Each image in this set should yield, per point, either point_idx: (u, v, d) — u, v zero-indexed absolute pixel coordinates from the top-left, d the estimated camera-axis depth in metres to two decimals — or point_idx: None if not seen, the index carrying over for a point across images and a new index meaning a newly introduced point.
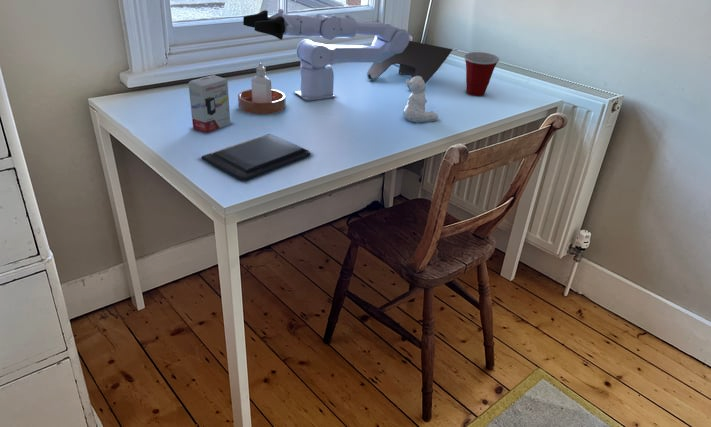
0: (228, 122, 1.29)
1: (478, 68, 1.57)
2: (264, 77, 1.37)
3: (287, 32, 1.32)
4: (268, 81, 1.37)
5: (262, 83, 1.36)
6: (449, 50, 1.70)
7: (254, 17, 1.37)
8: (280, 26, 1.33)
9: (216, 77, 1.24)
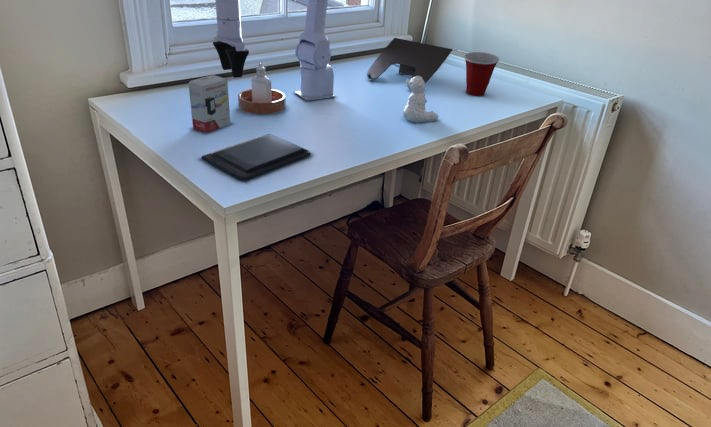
0: (228, 122, 1.29)
1: (478, 68, 1.57)
2: (264, 77, 1.37)
3: (243, 49, 1.24)
4: (268, 81, 1.37)
5: (262, 83, 1.36)
6: (449, 50, 1.70)
7: (222, 58, 1.33)
8: None
9: (216, 77, 1.24)
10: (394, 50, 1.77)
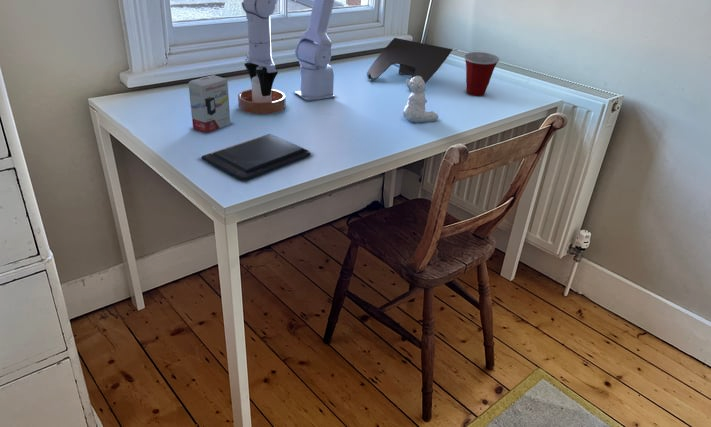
0: (228, 122, 1.29)
1: (478, 68, 1.57)
2: None
3: (273, 71, 1.31)
4: None
5: None
6: (449, 50, 1.70)
7: None
8: None
9: (216, 77, 1.24)
10: (394, 50, 1.77)
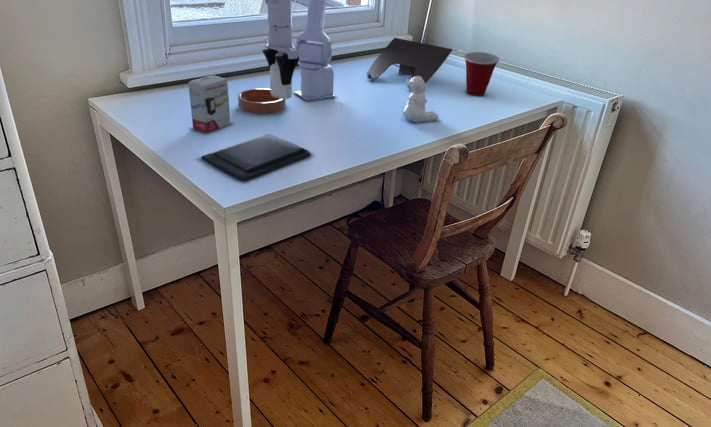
0: (228, 122, 1.29)
1: (478, 68, 1.57)
2: None
3: (295, 57, 1.21)
4: None
5: None
6: (449, 50, 1.70)
7: None
8: None
9: (216, 77, 1.24)
10: (394, 50, 1.77)
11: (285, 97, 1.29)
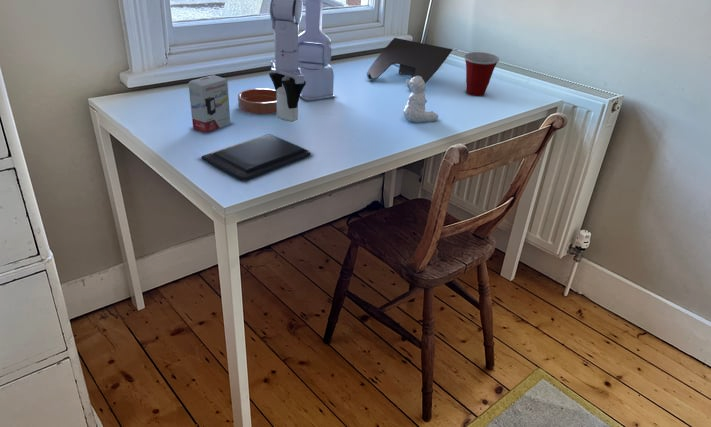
0: (228, 122, 1.29)
1: (478, 68, 1.57)
2: None
3: (302, 82, 1.21)
4: None
5: None
6: (449, 50, 1.70)
7: None
8: None
9: (216, 77, 1.24)
10: (394, 50, 1.77)
11: (291, 120, 1.30)
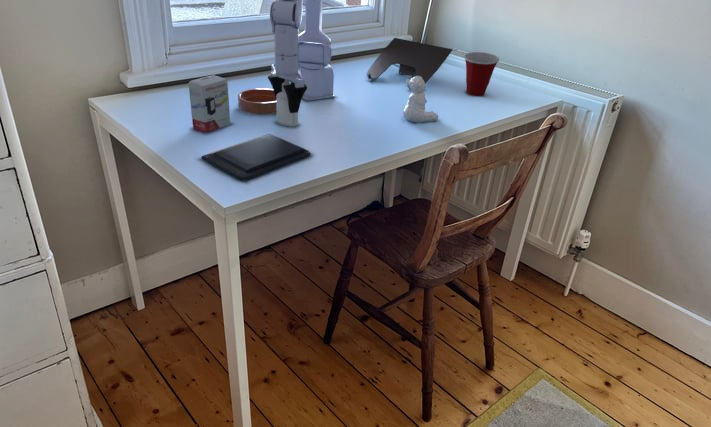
0: (228, 122, 1.29)
1: (478, 68, 1.57)
2: None
3: (302, 86, 1.22)
4: None
5: None
6: (449, 50, 1.70)
7: (277, 92, 1.31)
8: None
9: (216, 77, 1.24)
10: (394, 50, 1.77)
11: (291, 125, 1.30)
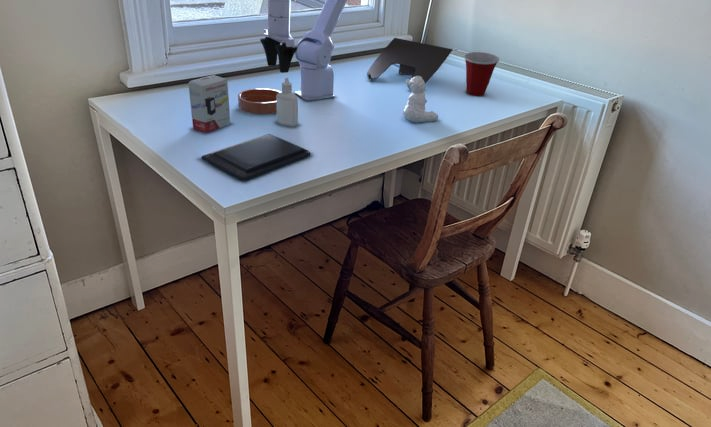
0: (228, 122, 1.29)
1: (478, 68, 1.57)
2: (290, 93, 1.28)
3: (292, 45, 1.30)
4: (294, 97, 1.27)
5: (288, 100, 1.27)
6: (449, 50, 1.70)
7: (268, 55, 1.40)
8: None
9: (216, 77, 1.24)
10: (394, 50, 1.77)
11: (291, 125, 1.30)
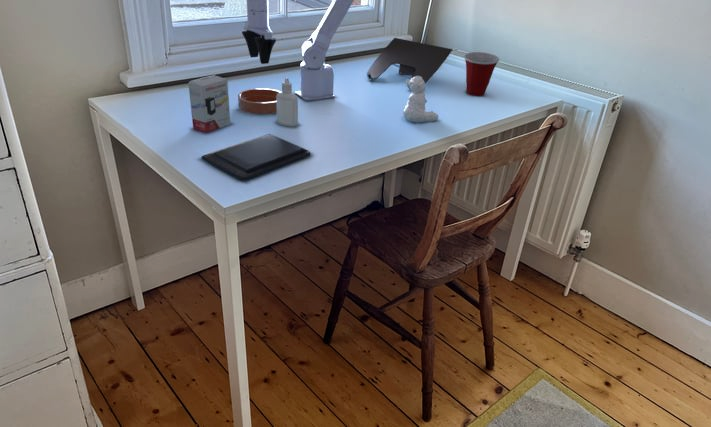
0: (228, 122, 1.29)
1: (478, 68, 1.57)
2: (290, 93, 1.28)
3: (271, 38, 1.37)
4: (294, 97, 1.27)
5: (288, 100, 1.27)
6: (449, 50, 1.70)
7: (250, 47, 1.46)
8: None
9: (216, 77, 1.24)
10: (394, 50, 1.77)
11: (291, 125, 1.30)
